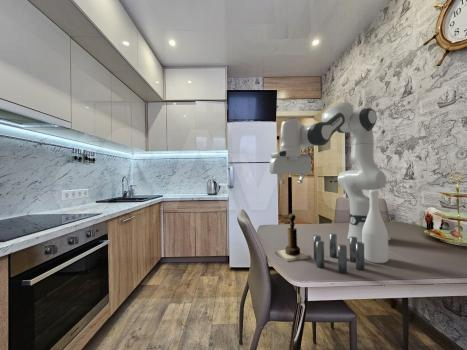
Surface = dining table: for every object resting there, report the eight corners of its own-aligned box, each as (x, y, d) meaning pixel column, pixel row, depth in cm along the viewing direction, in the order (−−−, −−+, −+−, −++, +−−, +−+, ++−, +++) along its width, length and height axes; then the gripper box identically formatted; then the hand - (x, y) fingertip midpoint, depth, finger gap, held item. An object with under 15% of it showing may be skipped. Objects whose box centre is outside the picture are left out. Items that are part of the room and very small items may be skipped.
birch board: (297, 250, 115) (296, 248, 115) (311, 258, 105) (310, 255, 105) (275, 253, 111) (274, 251, 111) (287, 261, 101) (287, 258, 101)
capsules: (341, 254, 109) (340, 232, 109) (374, 268, 92) (374, 242, 92) (304, 259, 103) (303, 236, 103) (333, 275, 86) (332, 248, 86)
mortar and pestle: (283, 251, 111) (282, 212, 111) (296, 250, 112) (295, 212, 112) (288, 255, 104) (287, 215, 104) (302, 255, 105) (301, 214, 105)
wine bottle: (358, 256, 106) (357, 189, 106) (379, 255, 106) (378, 189, 106) (369, 264, 97) (368, 190, 97) (393, 263, 96) (392, 190, 96)
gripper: (305, 154, 114) (306, 182, 114) (267, 154, 108) (268, 184, 108) (314, 153, 108) (314, 183, 108) (274, 152, 102) (274, 184, 102)
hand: (291, 183), depth 108 cm, fingers open, 8 cm apart
